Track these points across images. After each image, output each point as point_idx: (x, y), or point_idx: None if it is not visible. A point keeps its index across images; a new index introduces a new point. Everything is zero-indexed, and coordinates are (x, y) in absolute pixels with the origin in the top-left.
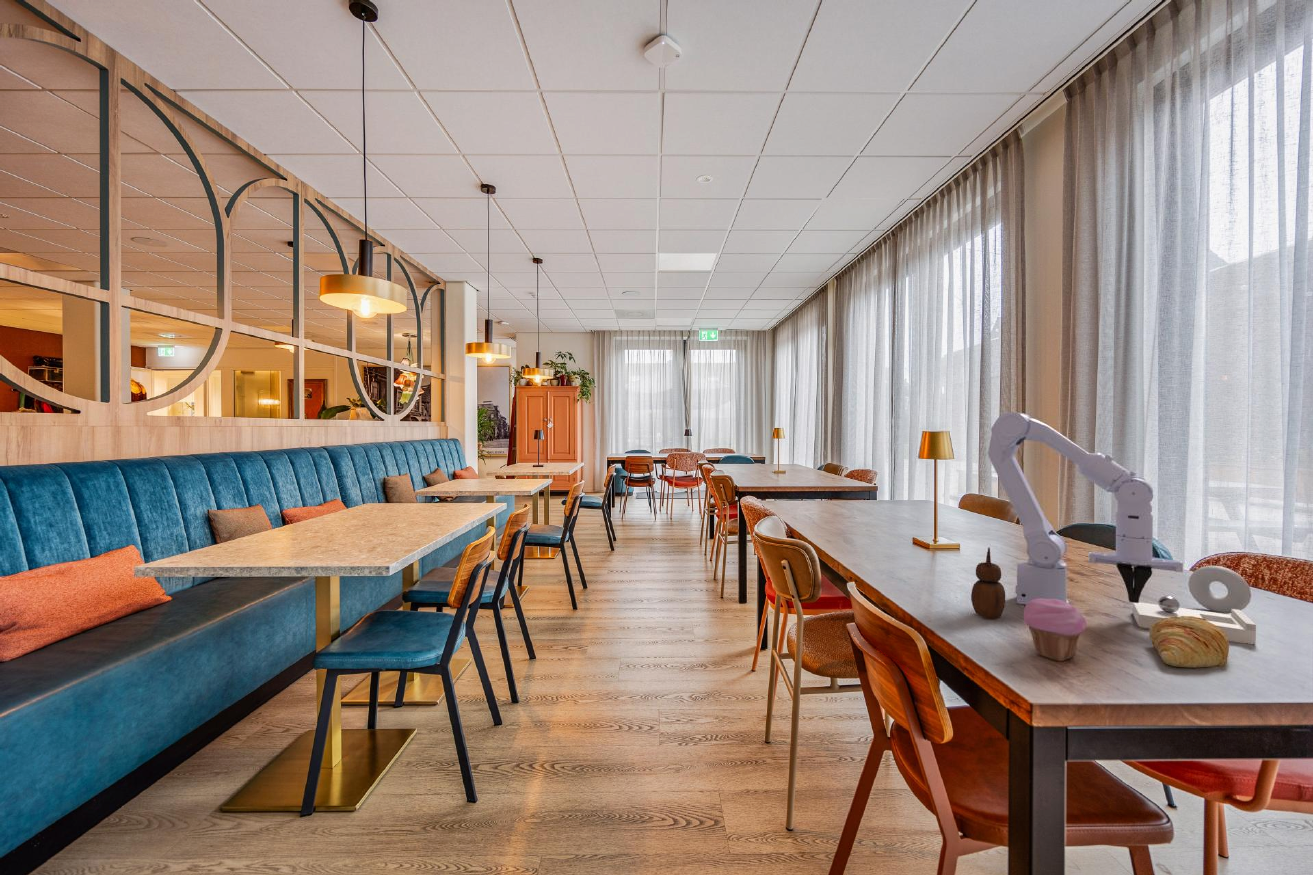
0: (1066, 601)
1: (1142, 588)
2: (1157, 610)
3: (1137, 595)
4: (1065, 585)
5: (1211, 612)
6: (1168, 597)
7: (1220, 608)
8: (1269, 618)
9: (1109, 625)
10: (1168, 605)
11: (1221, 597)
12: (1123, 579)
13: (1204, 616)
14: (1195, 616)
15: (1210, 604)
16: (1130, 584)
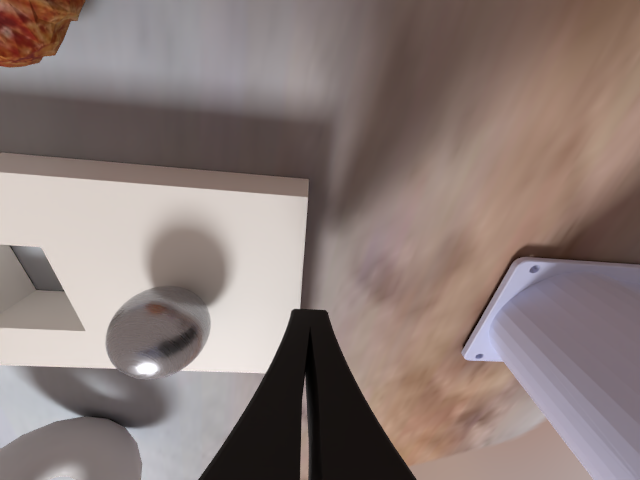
0: (503, 323)
1: (260, 387)
2: (223, 304)
3: (294, 338)
4: (587, 379)
5: (58, 363)
6: (136, 356)
7: (83, 428)
8: (9, 423)
9: (428, 132)
10: (159, 301)
11: (60, 474)
12: (400, 458)
13: (75, 323)
14: (86, 288)
15: (103, 440)
16: (338, 411)
